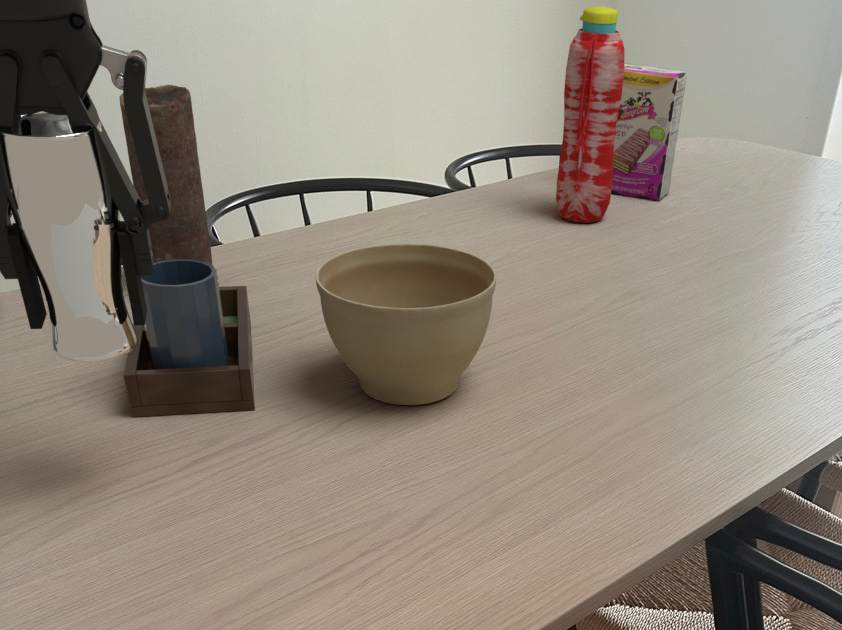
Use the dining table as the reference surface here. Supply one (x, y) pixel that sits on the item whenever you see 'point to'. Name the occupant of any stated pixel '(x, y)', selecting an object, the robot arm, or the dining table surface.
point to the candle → (174, 176)
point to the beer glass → (69, 234)
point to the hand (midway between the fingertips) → (90, 319)
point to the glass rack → (197, 371)
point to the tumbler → (184, 315)
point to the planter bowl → (406, 316)
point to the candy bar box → (647, 131)
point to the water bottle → (590, 117)
